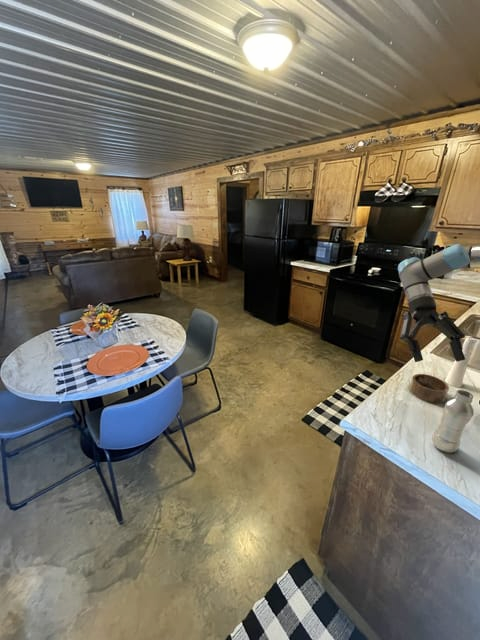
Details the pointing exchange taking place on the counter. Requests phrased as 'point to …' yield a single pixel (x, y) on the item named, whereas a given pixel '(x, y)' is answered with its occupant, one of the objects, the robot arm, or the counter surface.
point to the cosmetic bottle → (460, 365)
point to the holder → (425, 393)
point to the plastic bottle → (453, 422)
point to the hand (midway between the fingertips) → (440, 360)
